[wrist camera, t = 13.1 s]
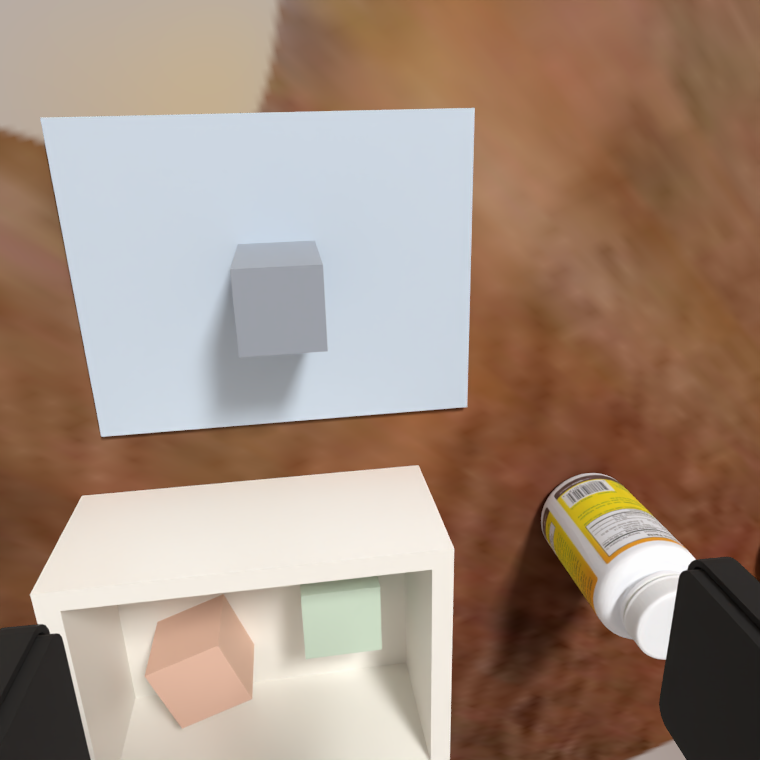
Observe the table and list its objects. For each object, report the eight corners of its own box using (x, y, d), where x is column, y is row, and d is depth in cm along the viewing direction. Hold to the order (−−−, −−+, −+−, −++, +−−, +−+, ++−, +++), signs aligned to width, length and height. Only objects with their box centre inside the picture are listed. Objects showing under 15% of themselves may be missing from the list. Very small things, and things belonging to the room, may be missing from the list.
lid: (468, 108, 32) (518, 103, 25) (462, 399, 37) (501, 457, 31) (47, 118, 29) (-18, 115, 23) (105, 428, 35) (67, 497, 28)
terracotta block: (223, 594, 37) (217, 645, 33) (254, 644, 39) (252, 699, 35) (157, 622, 37) (144, 676, 34) (191, 671, 39) (181, 728, 35)
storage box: (418, 465, 37) (454, 548, 30) (418, 661, 42) (449, 774, 35) (81, 495, 35) (30, 594, 28) (124, 699, 40) (89, 829, 33)
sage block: (369, 541, 37) (380, 586, 34) (371, 599, 39) (381, 649, 35) (297, 549, 37) (300, 595, 33) (302, 607, 38) (305, 659, 35)
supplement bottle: (587, 562, 42) (679, 690, 32) (519, 526, 40) (595, 650, 30) (643, 492, 40) (757, 604, 31) (576, 452, 39) (673, 557, 29)
